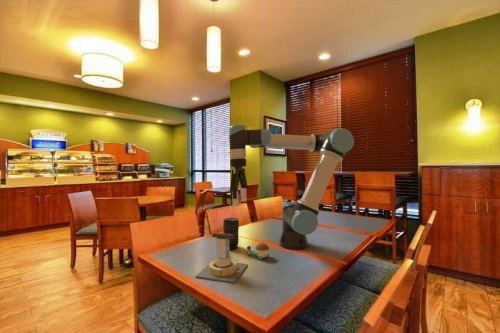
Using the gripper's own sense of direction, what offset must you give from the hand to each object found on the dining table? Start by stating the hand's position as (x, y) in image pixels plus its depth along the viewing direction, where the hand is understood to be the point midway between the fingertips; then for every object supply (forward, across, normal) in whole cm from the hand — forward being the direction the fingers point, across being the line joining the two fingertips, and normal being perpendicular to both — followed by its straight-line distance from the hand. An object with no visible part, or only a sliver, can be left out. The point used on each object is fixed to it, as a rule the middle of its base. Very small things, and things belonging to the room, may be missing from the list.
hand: (240, 203), depth 110 cm
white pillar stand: (+24, +16, -4) cm, 29 cm away
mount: (+25, +16, -4) cm, 30 cm away
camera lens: (+25, -11, -9) cm, 29 cm away
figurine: (+26, -2, +8) cm, 27 cm away
